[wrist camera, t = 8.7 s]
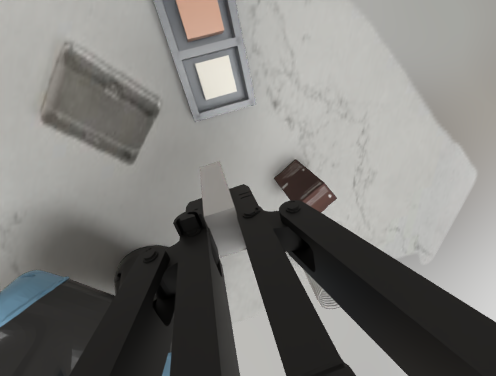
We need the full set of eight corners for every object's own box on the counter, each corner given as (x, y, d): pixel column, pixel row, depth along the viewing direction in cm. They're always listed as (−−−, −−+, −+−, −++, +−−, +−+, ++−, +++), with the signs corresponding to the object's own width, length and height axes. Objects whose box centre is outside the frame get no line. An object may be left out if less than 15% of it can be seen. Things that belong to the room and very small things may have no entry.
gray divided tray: (194, 118, 38) (194, 121, 34) (120, -101, 26) (110, -125, 23) (251, 102, 38) (256, 104, 35) (204, -117, 26) (206, -142, 23)
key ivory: (205, 98, 35) (206, 100, 33) (194, 64, 33) (195, 63, 31) (234, 90, 36) (237, 91, 34) (226, 56, 33) (228, 55, 31)
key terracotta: (188, 42, 30) (187, 39, 28) (174, -3, 28) (173, -9, 26) (222, 33, 31) (224, 30, 29) (211, -11, 29) (213, -19, 26)
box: (294, 157, 45) (325, 182, 34) (306, 172, 47) (339, 199, 36) (271, 177, 46) (295, 207, 35) (284, 191, 48) (310, 223, 37)
